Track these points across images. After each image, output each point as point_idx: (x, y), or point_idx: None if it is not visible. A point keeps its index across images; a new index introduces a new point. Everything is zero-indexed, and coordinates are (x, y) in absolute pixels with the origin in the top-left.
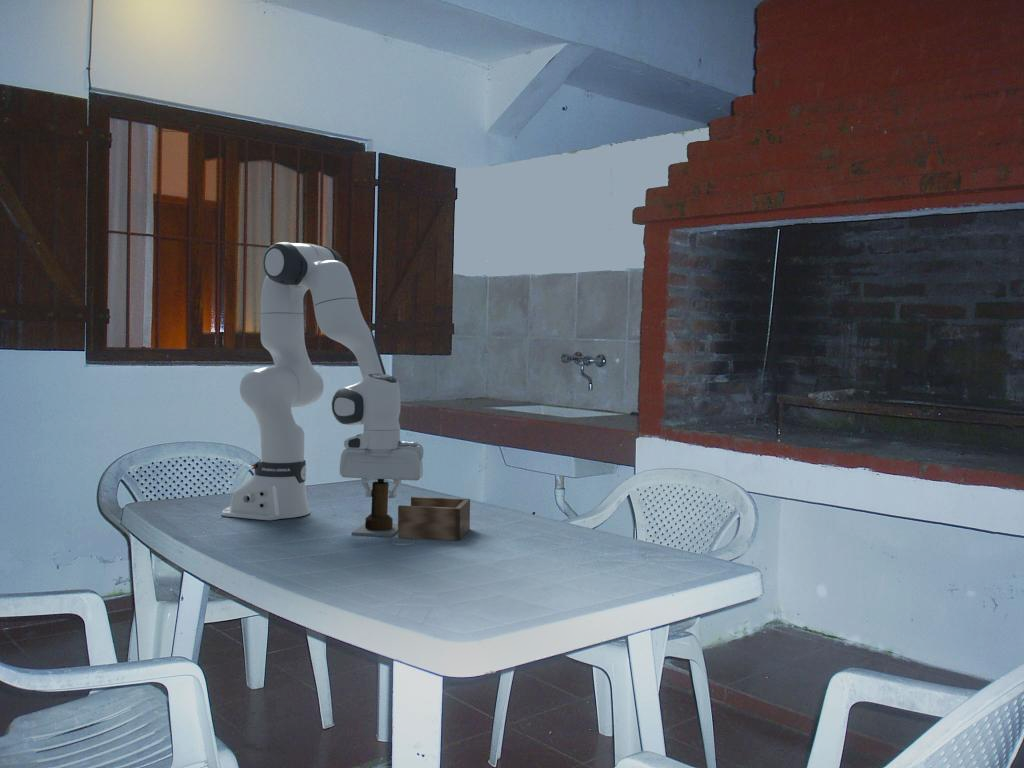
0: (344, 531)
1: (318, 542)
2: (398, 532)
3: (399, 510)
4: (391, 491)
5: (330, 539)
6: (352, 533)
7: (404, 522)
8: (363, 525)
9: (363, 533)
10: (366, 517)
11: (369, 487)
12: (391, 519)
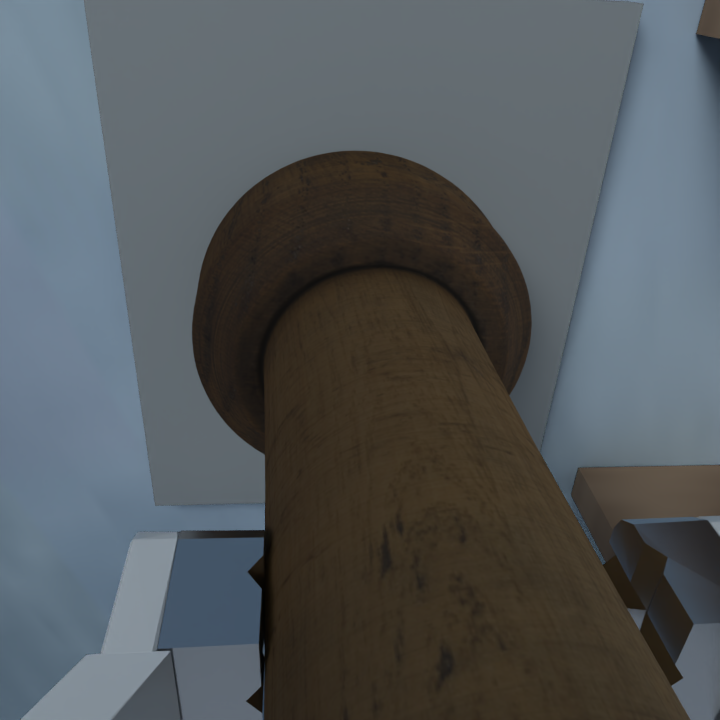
0: (22, 385)
1: (33, 700)
2: (591, 524)
3: None
4: (699, 711)
5: (67, 629)
6: (165, 496)
7: None
8: (135, 207)
9: None
10: (205, 375)
11: (148, 696)
12: (524, 357)
